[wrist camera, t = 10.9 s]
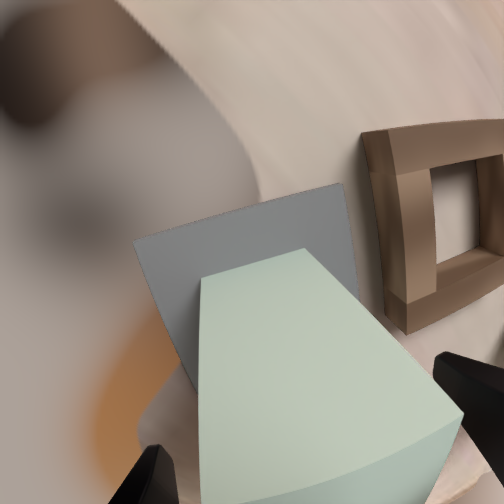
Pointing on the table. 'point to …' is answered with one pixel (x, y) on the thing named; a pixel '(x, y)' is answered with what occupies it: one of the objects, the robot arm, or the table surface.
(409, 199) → the pocket block
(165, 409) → the table surface
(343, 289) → the sage block
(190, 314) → the mat
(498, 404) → the robot arm
